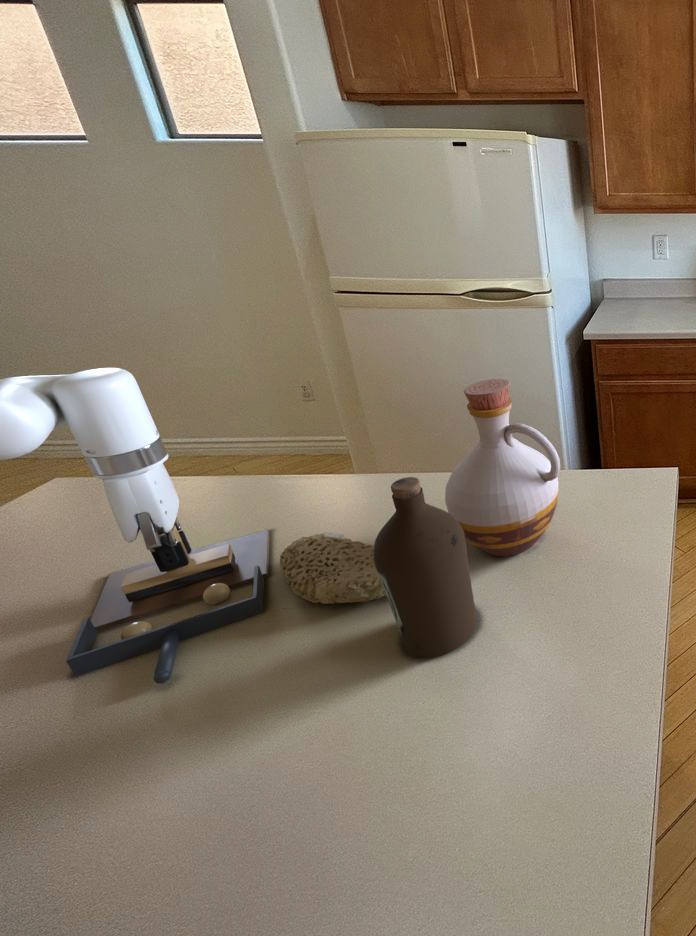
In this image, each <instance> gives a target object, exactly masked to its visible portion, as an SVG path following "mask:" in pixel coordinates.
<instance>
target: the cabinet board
mask: <svg viewBox="0 0 696 936" xmlns="http://www.w3.org/2000/svg"><path fill="white" fill-rule="evenodd" d="M270 534H271V532H270V529H269V528H267V529H264V530H260V531H258V532H257V531H256V532H252V533H250V534H245V535H243V536H238V537H234V538H231V539H228V540H224V541H220V542H216V543H214V544H211V545H206V546H202V547H199V548H196V549H191V553H190V554H188V555H192V554H195V553H199V552H202V551H206V550H209V549H213V548H216V547H220V546H223V545H227V544H230V546H231V549H232V551H233V554H234V556H235V568H234V571H230V572H227V573H224V574H220V575H217V576H214V577H211V578H207V579H204V580H201V581H198V582H194V583H191V584H188V585H184V586H181V587H178V588H175V589H171V590H168V591H165V592H162V593H158V594H155V595H152V596H149V597H145V598H142V599H139V600H135V601H132V602H129V601H128V599H127V598H126V596H125V594H124V592H123V590H122V588H121V585H122V582H123V579H124V577H125V574H126V573H128V572H132V571H136V570H139V569H143V568H146V567H150V566H153V565H157V564H156V562H155V560H154V561H149V562H146V563H142V564H139V565H135V566H132V567H127V568H124V569H121V570H118V571H114V572H110V573H108V576H107V579H106V581H105V584H104V586H103V588H102V591H101V593H100V596H99V597H98V600H97V602H96V606H95V607H94V610H93V613H92V615H91V617H90V620H91V622H92V624H93V626H94V627H95V629H96V631H97V632H99V631H101V630H105V629H109V628H112V627H114V626H117V625H121V624H123V623H127V622H130V621H133V620H136V619H140V618H143V617H145V616H149V615H152V614H155V613H158V612H161V611H165V610H168V609H171V608H174V607H177V606H180V605H184V604H187V603H190V602H193V601H197V600H200V599H203V593H204V591H205V589H206V588H207V587H209V586H210V585H212V584H216V583H223V584H226V585H227V586H228V587H229V589H230V590H231V589H234V588H237V587H241V586H243V585H246V584H249V583H253V582H254V568H255V566H257V565H259V568H260V570H261V573H262V575H263V578H264V579H265V578H268V577H269V565H270V564H269V559H270Z"/></svg>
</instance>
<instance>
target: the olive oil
mask: <svg viewBox="0 0 696 936" xmlns="http://www.w3.org/2000/svg"><path fill="white" fill-rule="evenodd" d="M390 490H391V493H392V495H391V498H392V502H393V505H394V508H395V512H394V513H393V514H392V516H391V517H390V518H389V519H388V520H387V522H386V523H385V524H384V525H383V526H382V528H381V529H380V531H379V532H378V534H377V536H376V538H375V542H374V545H373V546H374V563H375V567H376V570H377V572H378V575H379V577H380V580H381V583H382V585H383V588H384V590H385V593H386V596H385V597H386V598H387V602H388V604H389V607H390V609H391V612H392V614H393V618H394V620H395V623H396V627H397V628H398V629H397V630H398V631H399V634H400V637H401V641H402V644H403V647H404V649H405V650H406V652H407V653H408V654H409V655H411V656H413V657H416V658H419V659H432V658H438V657H442V656H445V655H447V654H450V653H452V652H454V651H455V650H457V649H459V648H461V647H462V646H463V645H464V644H465V643H467V642H468V641H469V639H470V638H471V637H472V636H473V635H474V634H475V633H474V632H475V631H476V629H477V626H478V617H477V616H478V615H477V610H476V605H475V599H474V593H473V585H472V580H471V579H472V578H471V572H470V566H469V565H470V564H469V557H468V551H467V550H468V549H467V540H466V539H465V535H464V532H463V529H462V527H461V526H460V524H459V523H458V521H457V520H456V519H455V517H454V516H452V515H451V514H450V513H448V511H446V510H444V509H442V508H439V507H436V506H433V505H431V504H429V503H427V502H426V499H425V495H424V491H423V490H424V489H423V488H422V486H421V482H420V479H419V478H418V477H414V476H407V477H402V478H400V479H397V480H396V481H393V482H392V483H391V485H390Z"/></svg>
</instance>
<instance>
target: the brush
mask: <svg viewBox="0 0 696 936" xmlns="http://www.w3.org/2000/svg"><path fill="white" fill-rule="evenodd" d="M172 531H173V533H174V536H175V538H176V540H177V542H181V544H182V546H183V549H184V551H185V553H186V555H187V557H188V560H189V564H188V565H186V566H183V567H179V568H176V569H172V570H169V571H166V572H160V570H159V568H158V566H157V565H153V566H150V567H146V568H143V569H139V570H136V571H132V572H128V573H126V574H125V577H124V579H123V582H122V585H121V588H122V590H123V592H124V594H125V596H126V598H127V599H128V601H129V602H132V601H135V600H139V599H142V598H145V597H149V596H152V595H155V594H158V593H162V592H165V591H168V590H171V589H175V588H178V587H181V586H184V585H188V584H191V583H194V582H198V581H201V580H204V579H207V578H211V577H214V576H217V575H220V574H224V573H227V572H230V571H234V568H235V556H234V554H233V551H232V549H231V546H230V544H227V545H223V546H220V547H216V548H213V549H209V550H206V551H202V552H199V553H195V554H192V555H188V553H187V551H186V548H185V546H184V544H183V542H182V539H181V537H180V535H179V533H178V532H179V531H177V528H176V526H175V525H174V526H173V528H172ZM158 536H159V537H163V536H165V537H167V536H166V534H165V533H164V534H161V535H158Z"/></svg>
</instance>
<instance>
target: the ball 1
mask: <svg viewBox="0 0 696 936" xmlns="http://www.w3.org/2000/svg"><path fill="white" fill-rule="evenodd" d="M151 630H154V628H153V625H152V624H151V623H150V622H148V621H145V620H140V621H135V622H132V623H130V624H128V625H127V626H126V627H124V629H122V632H121V633H120V640H124V639H127V638H130V637H133V636H136V635H139V634H142V633H145V632H148V631H151Z"/></svg>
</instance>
